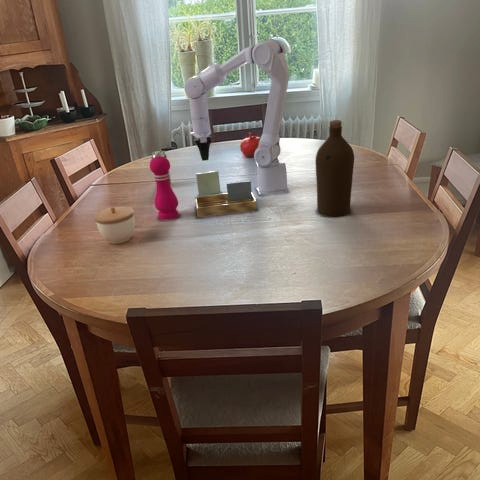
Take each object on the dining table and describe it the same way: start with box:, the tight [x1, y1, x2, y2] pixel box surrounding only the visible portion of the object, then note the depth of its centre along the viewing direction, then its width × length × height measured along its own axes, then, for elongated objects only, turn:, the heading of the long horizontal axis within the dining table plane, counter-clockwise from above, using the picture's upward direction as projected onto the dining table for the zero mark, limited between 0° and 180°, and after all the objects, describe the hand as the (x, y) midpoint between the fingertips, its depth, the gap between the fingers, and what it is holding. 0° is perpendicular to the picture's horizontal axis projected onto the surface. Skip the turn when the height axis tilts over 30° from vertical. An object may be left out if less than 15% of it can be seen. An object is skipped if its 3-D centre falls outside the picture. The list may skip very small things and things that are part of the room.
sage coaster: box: [195, 170, 222, 196], centre depth 162 cm, size 8×1×8 cm, turn 97°
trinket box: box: [93, 206, 136, 244], centre depth 135 cm, size 11×11×9 cm
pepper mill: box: [149, 150, 180, 221], centre depth 144 cm, size 7×7×20 cm
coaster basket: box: [194, 192, 258, 218], centre depth 150 cm, size 18×11×3 cm, turn 97°
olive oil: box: [315, 119, 355, 218], centre depth 135 cm, size 11×11×25 cm
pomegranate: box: [239, 131, 261, 158], centre depth 199 cm, size 10×10×9 cm
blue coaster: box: [225, 180, 253, 202], centre depth 149 cm, size 8×1×8 cm, turn 97°
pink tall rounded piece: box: [150, 150, 172, 185], centre depth 173 cm, size 5×5×12 cm
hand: (205, 159), depth 164 cm, fingers closed
